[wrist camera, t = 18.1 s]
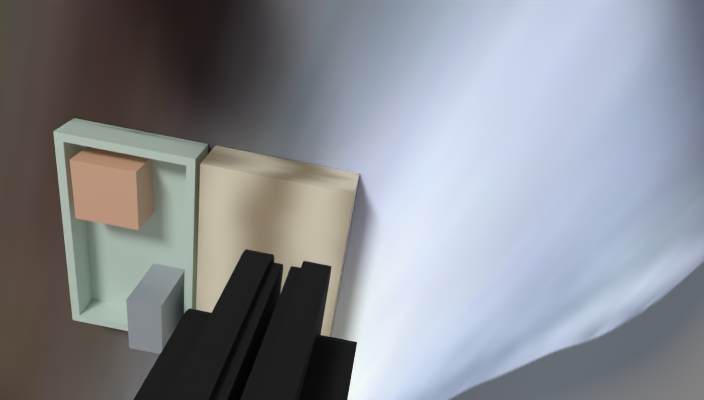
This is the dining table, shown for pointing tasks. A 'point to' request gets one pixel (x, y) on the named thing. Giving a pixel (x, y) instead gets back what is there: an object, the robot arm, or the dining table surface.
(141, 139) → the box
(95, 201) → the terracotta tile
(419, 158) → the dining table surface
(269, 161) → the birch platform
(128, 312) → the slate tile
